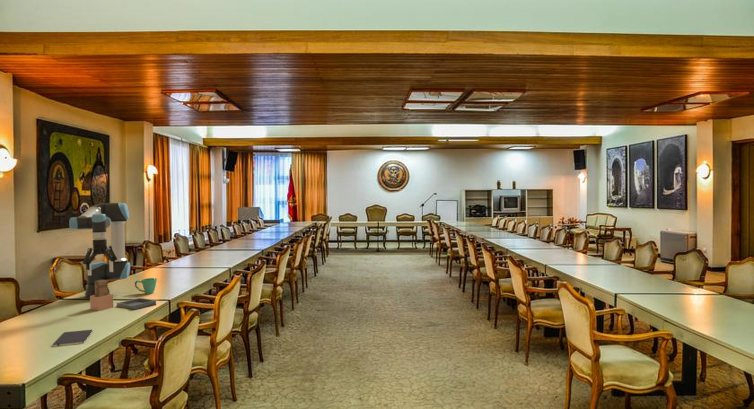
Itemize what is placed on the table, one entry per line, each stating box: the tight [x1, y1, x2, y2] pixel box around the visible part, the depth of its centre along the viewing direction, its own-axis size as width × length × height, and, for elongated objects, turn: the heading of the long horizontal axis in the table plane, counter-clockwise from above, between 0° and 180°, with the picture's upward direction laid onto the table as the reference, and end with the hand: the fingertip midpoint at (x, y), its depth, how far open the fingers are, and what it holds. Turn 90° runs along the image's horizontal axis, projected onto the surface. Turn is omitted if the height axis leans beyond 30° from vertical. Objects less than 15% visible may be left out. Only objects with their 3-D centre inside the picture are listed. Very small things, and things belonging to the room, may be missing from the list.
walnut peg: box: [95, 280, 109, 297], centre depth 300 cm, size 5×5×17 cm
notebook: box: [52, 329, 93, 347], centre depth 242 cm, size 13×2×21 cm
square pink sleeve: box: [89, 293, 114, 311], centre depth 300 cm, size 9×9×9 cm
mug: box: [134, 277, 158, 295], centre depth 346 cm, size 15×10×10 cm
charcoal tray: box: [116, 297, 157, 312], centre depth 307 cm, size 16×16×3 cm
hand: (100, 273), depth 299 cm, fingers open, 13 cm apart
